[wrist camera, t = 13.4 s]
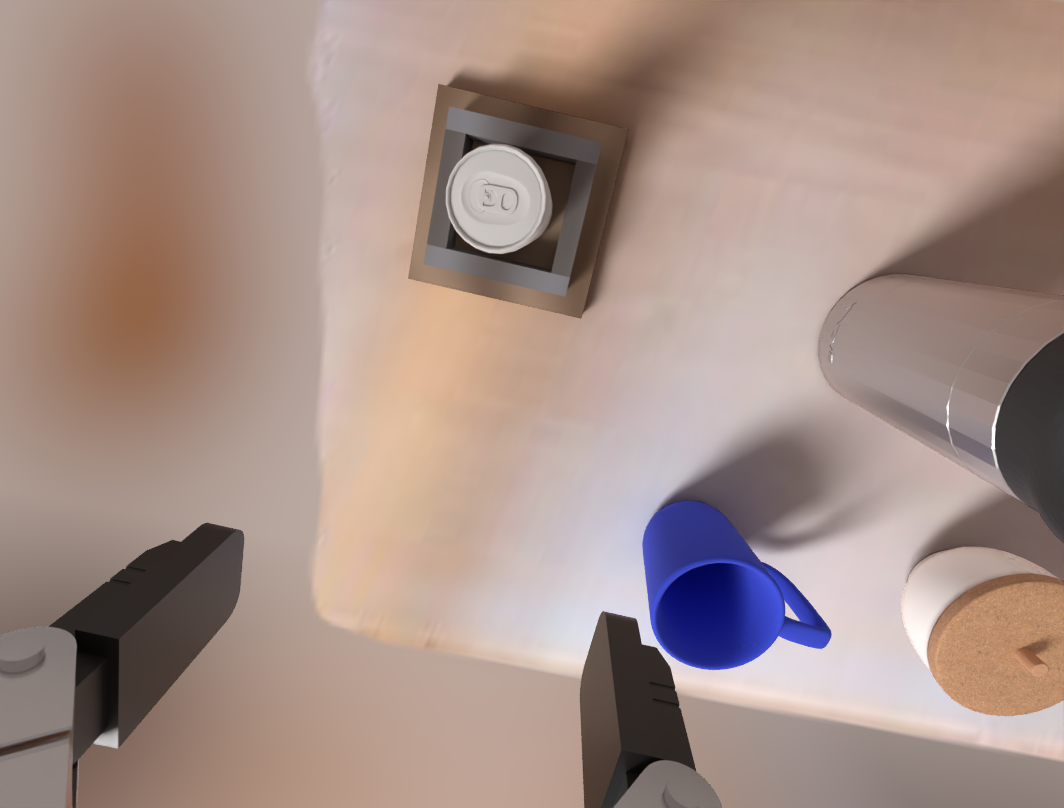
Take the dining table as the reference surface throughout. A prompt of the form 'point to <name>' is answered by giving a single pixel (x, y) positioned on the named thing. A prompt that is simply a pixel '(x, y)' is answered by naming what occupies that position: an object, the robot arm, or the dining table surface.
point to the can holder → (576, 191)
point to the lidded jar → (988, 629)
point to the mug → (718, 592)
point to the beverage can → (498, 199)
